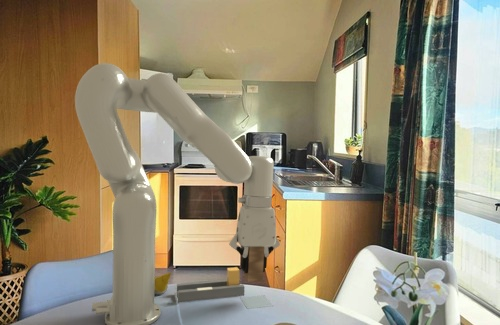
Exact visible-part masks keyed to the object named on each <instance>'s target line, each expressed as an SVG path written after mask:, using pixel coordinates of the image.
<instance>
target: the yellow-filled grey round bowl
mask: <svg viewBox="0 0 500 325" xmlns="http://www.w3.org/2000/svg"><path fill="white" fill-rule="evenodd" d="M171 274H172V272H167V273H164V274H162V275H155V291H154V295H156V296H161V295H163V294H165V292H167V290H168V284H169V280H170V278H171Z"/></svg>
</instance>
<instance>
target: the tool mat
mask: <svg viewBox="0 0 500 325" xmlns="http://www.w3.org/2000/svg"><path fill="white" fill-rule="evenodd" d="M240 300H241V301H242V303H243V304H244V306H245V307H246V309H248V310H250V309H259V308H268V307H274V305H273V304H272V303H271V301H270V299H268V297H266V295H265V294H263V295H262V294H261V295H255V296H254V295H253V296H245V297H244V296H242V297H240Z"/></svg>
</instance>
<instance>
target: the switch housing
mask: <svg viewBox="0 0 500 325" xmlns="http://www.w3.org/2000/svg"><path fill="white" fill-rule="evenodd" d="M241 296H242V297H244V296H245V285H244V284H242V283H241V279H239V285H231V286H227V278H226V279H218V280H215V279H214V280H205V281H194V282H182V283H176V298H177V302H178V305H179V303H182V302H185V303H186V302H194V301H205V300H214V299H224V298H233V297H241Z"/></svg>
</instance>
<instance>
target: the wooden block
mask: <svg viewBox="0 0 500 325" xmlns="http://www.w3.org/2000/svg"><path fill="white" fill-rule="evenodd" d="M247 255H248V258H249V261H248V273H245V272H244V271H243V278H244V279H245V281H246V282H247V283H258V282H261V283H262V282H263V280H264V279H263V275H264V272H263V264H264V247H249V250H248V254H247Z"/></svg>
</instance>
